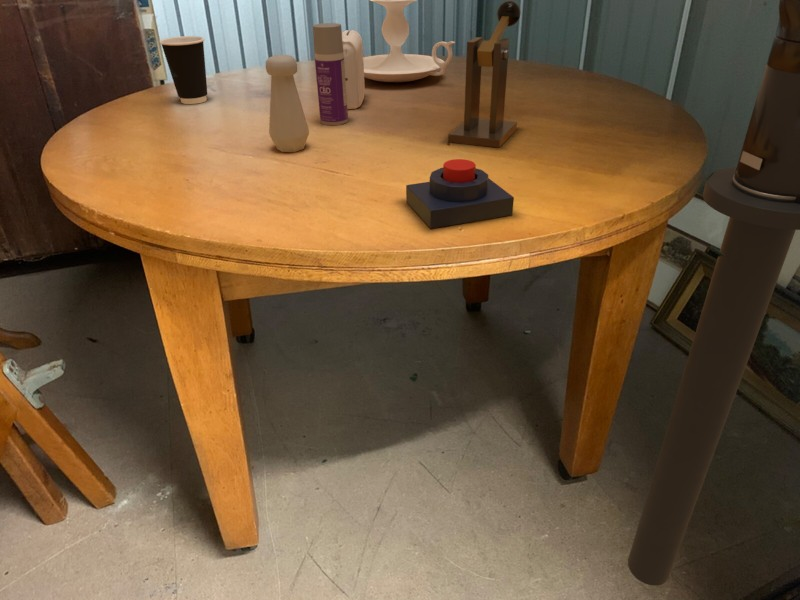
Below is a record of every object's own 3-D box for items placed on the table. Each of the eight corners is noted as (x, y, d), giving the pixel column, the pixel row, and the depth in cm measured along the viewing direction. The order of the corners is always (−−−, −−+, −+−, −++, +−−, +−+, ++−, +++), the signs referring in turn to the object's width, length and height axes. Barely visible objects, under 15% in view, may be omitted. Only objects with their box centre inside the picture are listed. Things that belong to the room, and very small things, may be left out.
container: (319, 125, 100) (310, 27, 92) (321, 118, 104) (313, 23, 96) (347, 124, 100) (341, 26, 92) (348, 117, 104) (342, 22, 96)
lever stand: (468, 124, 99) (472, 33, 91) (516, 129, 96) (524, 36, 89) (448, 142, 91) (450, 44, 84) (499, 147, 88) (506, 47, 81)
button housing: (482, 190, 75) (483, 159, 72) (512, 215, 68) (515, 181, 66) (406, 202, 72) (405, 170, 70) (430, 229, 65) (430, 194, 63)
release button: (466, 171, 70) (467, 157, 69) (480, 182, 67) (481, 167, 66) (438, 175, 69) (438, 161, 68) (450, 186, 66) (451, 171, 65)
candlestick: (422, 98, 114) (422, -76, 99) (328, 82, 127) (315, -74, 112) (479, 78, 128) (487, -78, 113) (389, 65, 141) (385, -76, 126)
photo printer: (361, 109, 108) (357, 35, 101) (337, 109, 108) (332, 35, 102) (366, 95, 117) (363, 26, 110) (344, 95, 117) (340, 26, 110)
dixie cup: (223, 97, 117) (213, 37, 112) (196, 107, 111) (184, 44, 106) (191, 94, 120) (179, 35, 114) (163, 104, 114) (149, 41, 108)
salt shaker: (268, 144, 92) (256, 54, 85) (305, 140, 93) (296, 50, 86) (276, 156, 87) (263, 61, 80) (314, 151, 89) (305, 57, 82)
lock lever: (501, 18, 96) (500, -5, 93) (523, 19, 94) (523, -4, 92) (473, 69, 88) (471, 46, 86) (497, 71, 87) (496, 48, 84)
